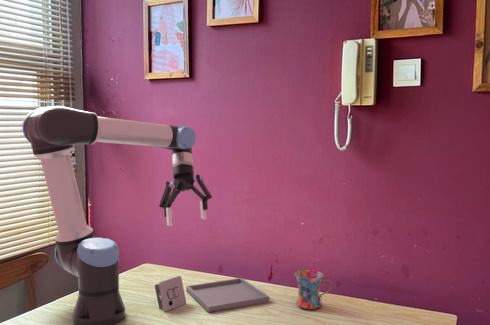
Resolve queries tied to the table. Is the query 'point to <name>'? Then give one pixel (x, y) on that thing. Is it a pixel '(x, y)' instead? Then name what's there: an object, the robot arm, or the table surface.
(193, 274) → the table surface
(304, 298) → the mug
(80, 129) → the robot arm
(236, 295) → the grey square tray
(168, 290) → the electrical switch
